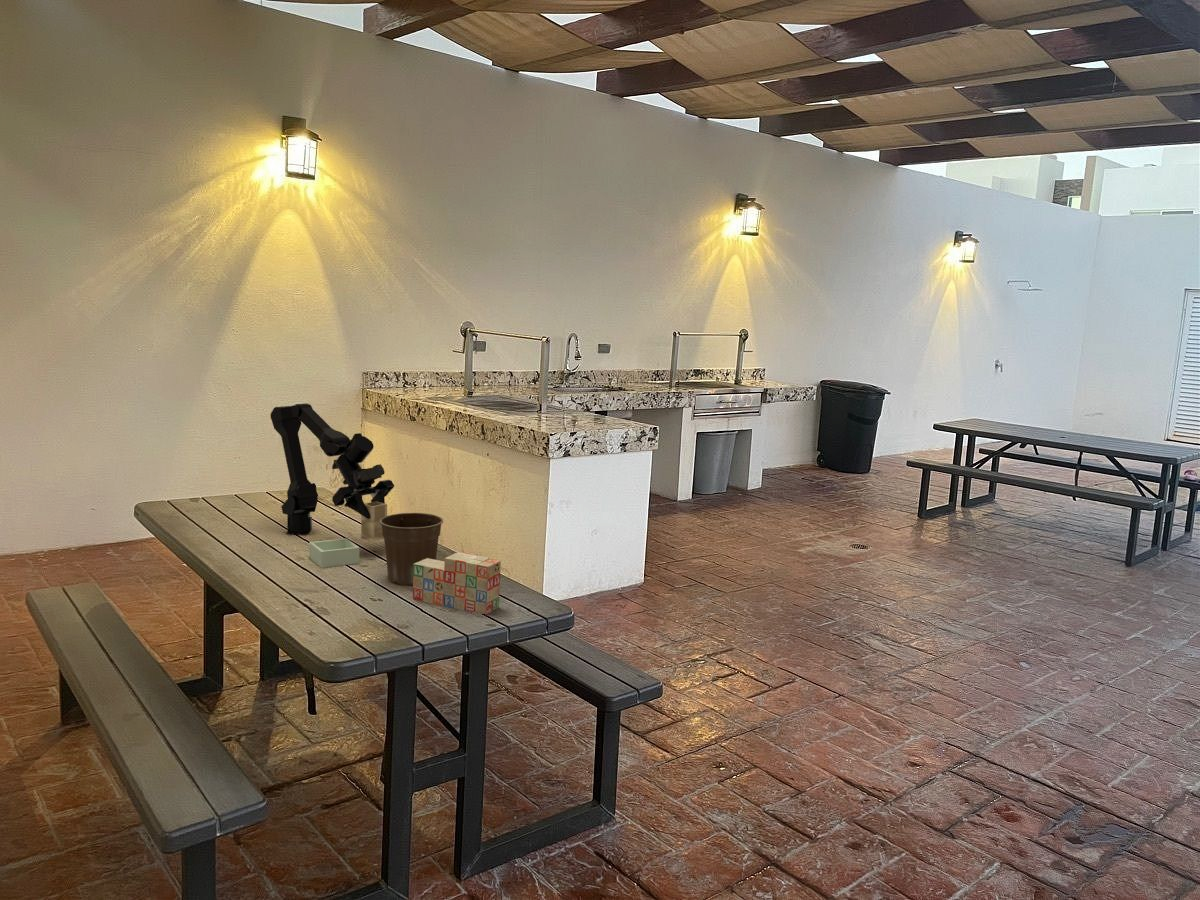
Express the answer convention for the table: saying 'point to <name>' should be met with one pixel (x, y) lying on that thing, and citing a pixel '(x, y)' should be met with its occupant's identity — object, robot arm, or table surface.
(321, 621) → the table surface
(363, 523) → the pine crate
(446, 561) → the stack of blocks
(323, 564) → the sage crate
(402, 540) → the plant pot
